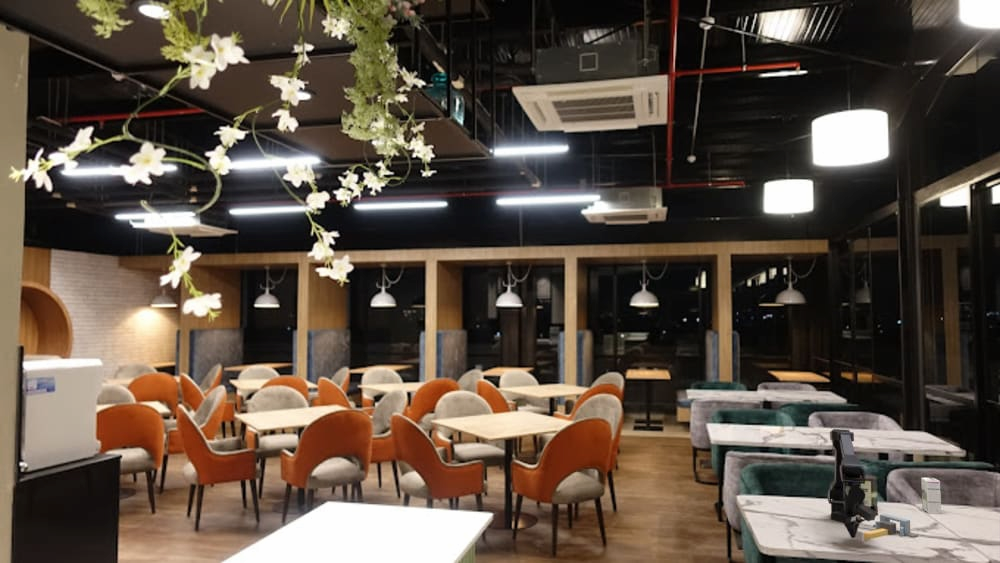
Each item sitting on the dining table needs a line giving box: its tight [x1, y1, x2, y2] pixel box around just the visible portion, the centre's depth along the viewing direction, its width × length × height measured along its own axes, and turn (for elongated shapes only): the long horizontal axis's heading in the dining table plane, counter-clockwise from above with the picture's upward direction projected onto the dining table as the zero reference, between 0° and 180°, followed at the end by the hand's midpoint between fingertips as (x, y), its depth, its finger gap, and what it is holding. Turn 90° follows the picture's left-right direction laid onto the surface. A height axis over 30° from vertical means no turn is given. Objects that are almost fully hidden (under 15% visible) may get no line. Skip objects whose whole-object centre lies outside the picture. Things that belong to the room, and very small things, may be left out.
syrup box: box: [920, 477, 942, 515], centre depth 294 cm, size 6×6×14 cm
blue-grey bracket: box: [872, 513, 919, 538], centre depth 264 cm, size 6×16×5 cm, turn 29°
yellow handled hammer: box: [853, 521, 897, 542], centre depth 258 cm, size 22×4×4 cm, turn 119°
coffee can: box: [855, 473, 879, 509], centre depth 300 cm, size 10×10×14 cm
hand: (852, 537), depth 251 cm, fingers closed
